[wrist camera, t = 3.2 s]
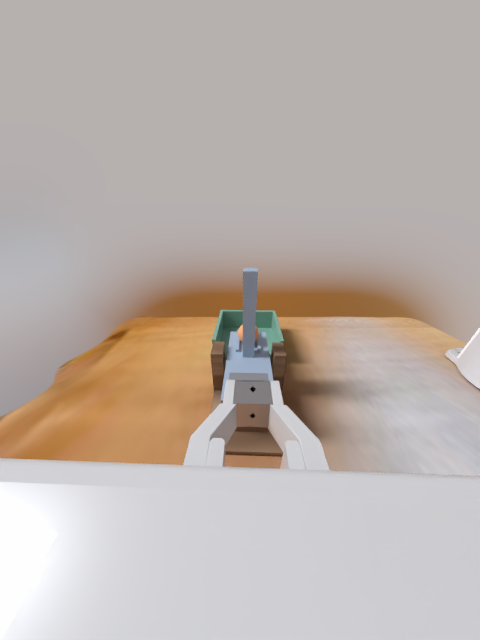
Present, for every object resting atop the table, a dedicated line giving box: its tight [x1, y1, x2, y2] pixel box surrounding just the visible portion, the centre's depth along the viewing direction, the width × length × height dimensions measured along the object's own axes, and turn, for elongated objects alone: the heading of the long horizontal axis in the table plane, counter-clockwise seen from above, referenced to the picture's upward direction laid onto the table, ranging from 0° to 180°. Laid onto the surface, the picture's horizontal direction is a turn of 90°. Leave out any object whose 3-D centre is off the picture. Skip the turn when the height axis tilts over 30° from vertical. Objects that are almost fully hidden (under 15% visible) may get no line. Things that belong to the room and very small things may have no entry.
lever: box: [221, 268, 273, 403], centre depth 24 cm, size 14×6×13 cm, turn 178°
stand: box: [210, 341, 287, 456], centre depth 27 cm, size 16×10×8 cm, turn 178°
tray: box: [212, 310, 284, 360], centre depth 40 cm, size 12×12×5 cm
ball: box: [238, 325, 259, 342], centre depth 29 cm, size 3×3×3 cm
